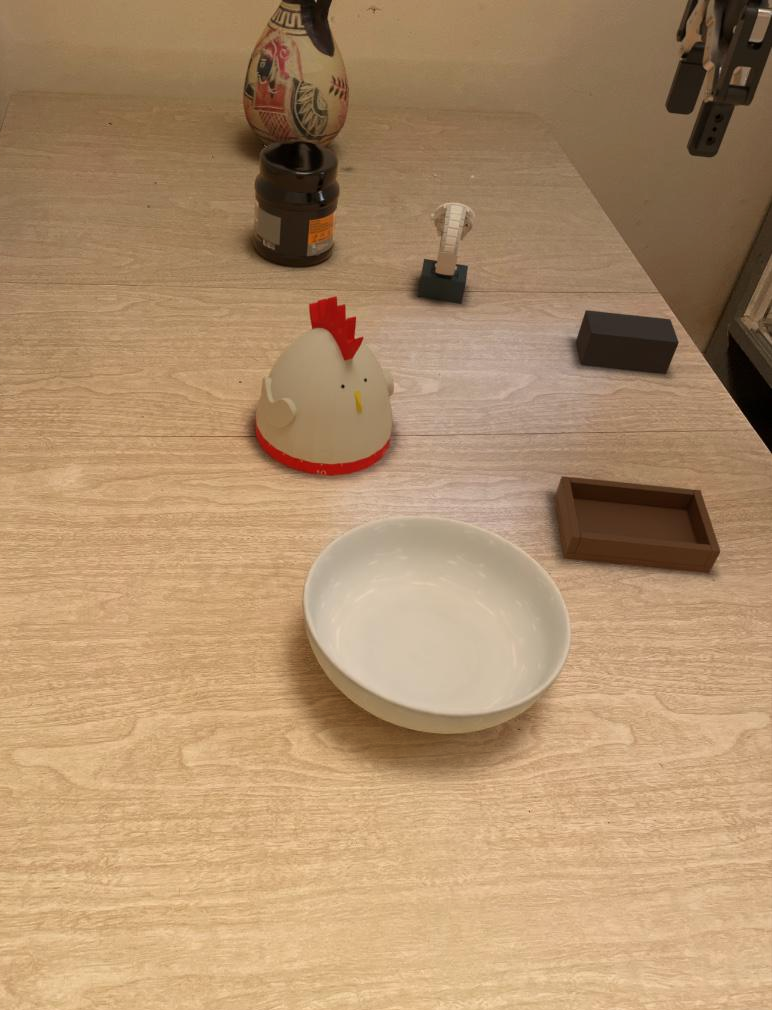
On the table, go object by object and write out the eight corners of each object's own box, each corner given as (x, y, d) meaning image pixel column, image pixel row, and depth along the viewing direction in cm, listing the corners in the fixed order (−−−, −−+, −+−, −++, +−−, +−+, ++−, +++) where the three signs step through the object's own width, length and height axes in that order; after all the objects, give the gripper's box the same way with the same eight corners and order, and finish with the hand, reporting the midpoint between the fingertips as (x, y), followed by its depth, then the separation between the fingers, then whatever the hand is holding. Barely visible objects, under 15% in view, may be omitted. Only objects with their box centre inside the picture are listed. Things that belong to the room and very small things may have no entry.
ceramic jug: (219, 149, 144) (221, -92, 122) (288, 124, 152) (300, -106, 131) (305, 188, 137) (323, -59, 115) (371, 160, 146) (400, -76, 124)
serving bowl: (493, 815, 70) (515, 762, 65) (248, 690, 76) (251, 632, 70) (584, 633, 83) (608, 577, 78) (369, 538, 89) (378, 481, 84)
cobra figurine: (464, 281, 123) (481, 196, 115) (460, 313, 117) (478, 226, 109) (420, 274, 123) (435, 189, 115) (414, 305, 118) (429, 218, 110)
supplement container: (350, 253, 125) (360, 160, 116) (293, 279, 119) (300, 183, 111) (292, 223, 130) (298, 131, 121) (235, 246, 124) (237, 151, 115)
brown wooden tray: (689, 513, 95) (700, 489, 93) (708, 574, 89) (721, 551, 87) (553, 499, 95) (561, 475, 92) (563, 560, 89) (572, 536, 87)
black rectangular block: (657, 352, 115) (670, 318, 112) (665, 376, 112) (679, 342, 108) (574, 343, 115) (585, 309, 111) (580, 367, 111) (591, 333, 108)
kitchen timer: (297, 492, 92) (308, 357, 81) (231, 413, 100) (234, 280, 89) (415, 453, 98) (441, 322, 87) (345, 381, 105) (360, 252, 94)
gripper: (868, -89, 59) (758, 176, 71) (801, -136, 69) (714, 104, 81) (747, -103, 59) (657, 165, 71) (697, -148, 69) (626, 94, 80)
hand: (688, 132), depth 76 cm, fingers open, 8 cm apart
